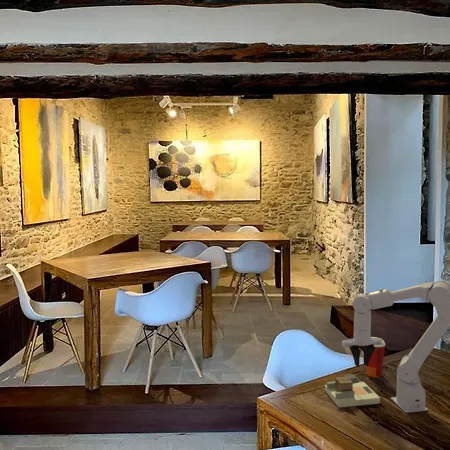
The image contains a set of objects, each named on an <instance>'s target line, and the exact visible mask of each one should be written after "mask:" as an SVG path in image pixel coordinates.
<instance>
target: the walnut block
mask: <svg viewBox="0 0 450 450" xmlns="http://www.w3.org/2000/svg"><path fill="white" fill-rule="evenodd" d="M334 382H335V390H336V391H337V392H343V391H353V382H352V381H351V380H350V379H349V378H348V377H344V376H340V377H339V376H338V377H334Z"/></svg>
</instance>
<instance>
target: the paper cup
mask: <svg viewBox="0 0 450 450" xmlns="http://www.w3.org/2000/svg"><path fill="white" fill-rule="evenodd" d="M371 338H378V337H376V336H371ZM379 338H380V337H379ZM380 339H382V345H379V344H378V345H374V347H375V351H374V353H373V354H372V356H371V358H370V361H369V364H368V366H366V365H365V367H366V369H365V370H366V375H367V376H368V377H371V378H375V379H376V378H378V379H379V378H381V377H382V375H383V368H384V355H385V347H386V343H385V341H384V340H383V338H380Z"/></svg>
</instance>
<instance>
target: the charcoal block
mask: <svg viewBox="0 0 450 450" xmlns="http://www.w3.org/2000/svg"><path fill="white" fill-rule="evenodd" d="M343 377H348V378H349V379H350V380H351V381H352V382H353V383H357V382H358V376H356V375H354V374H353V373H348V374H343Z"/></svg>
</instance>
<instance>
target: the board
mask: <svg viewBox="0 0 450 450" xmlns="http://www.w3.org/2000/svg"><path fill="white" fill-rule="evenodd" d="M324 392H325V393H326V394H327V395H328V397H329V398H330V399H331V400H332V402H334V404H335V405H336V406H337V408H349V407H356V406H357V407H358V406H368V405H376V404H377V405H378V404H380V403H381V397H380V396H379V395H378V394H377V393H376V392H375V391H374V390H373V389H371V388H370V387H369V386H368V385H367V384H366V383H365V382H364V381H360V382H358V381H357V383H353V391H343V392H337V391H336V390H335V381H328V382H326V385H324Z"/></svg>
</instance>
